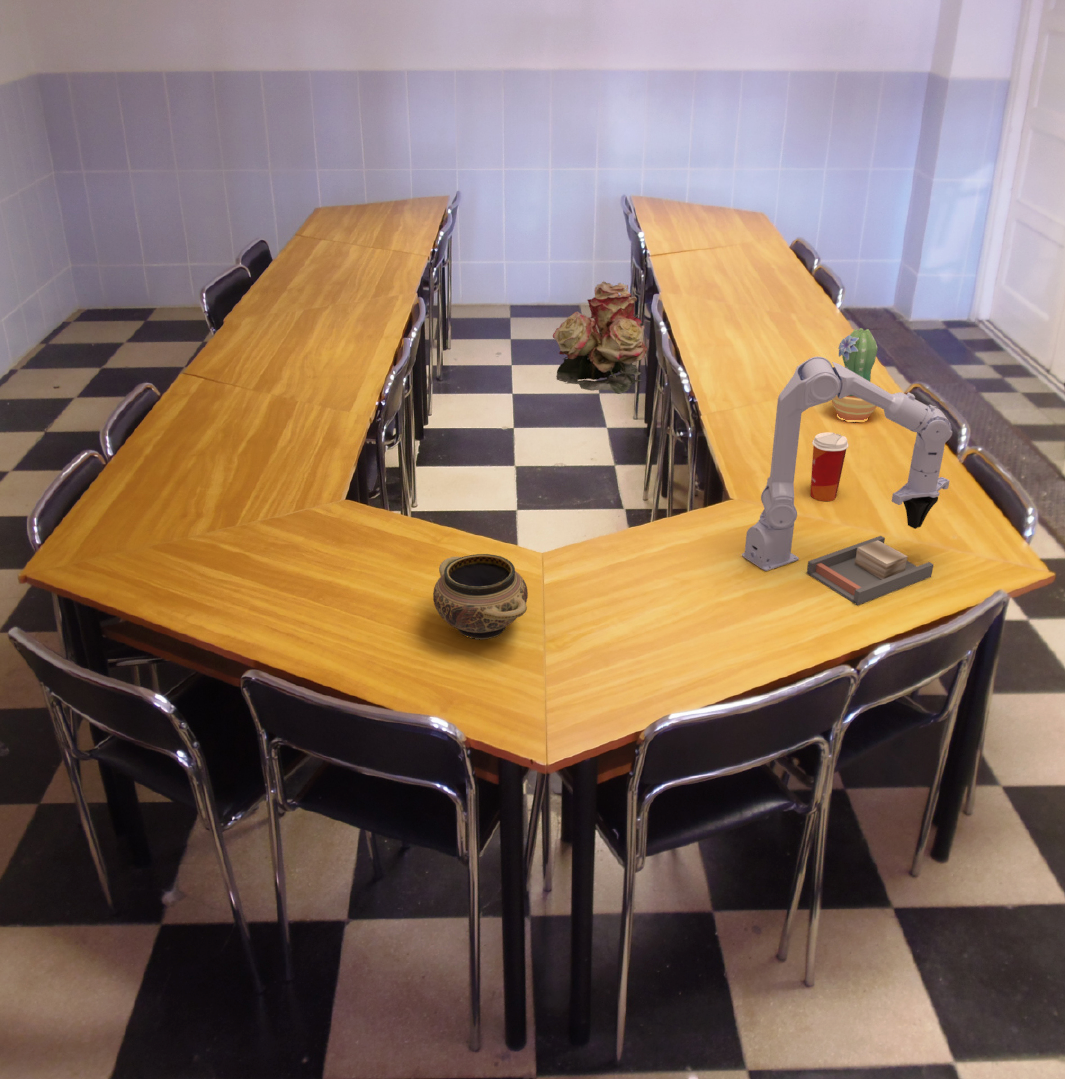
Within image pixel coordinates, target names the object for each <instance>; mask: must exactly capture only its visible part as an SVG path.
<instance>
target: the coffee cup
mask: <svg viewBox="0 0 1065 1079" xmlns="http://www.w3.org/2000/svg"><path fill="white" fill-rule="evenodd" d="M811 442H812V446H813V447H812V448H813V449H812V459H811V460H812V462H811V476H810V477H811V478H810V479H811V480H810V496H811V498H812V499H813V500H815V501H819V502H831V501H834V500H836V498H837V496H838V490H839V486H840V481H841V476H842V473H843V466H844V464H845V463H844V462H845V458H846V452H847V449H848V448H849V443H848V439H847V437H846V436H845V435H841V434H838V433H835V432H826V431H825V432H820V433H818V434H816V435H815V436H814V439H813V440H812V441H811Z"/></svg>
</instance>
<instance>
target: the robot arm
mask: <svg viewBox="0 0 1065 1079" xmlns="http://www.w3.org/2000/svg"><path fill="white" fill-rule="evenodd" d="M832 364H833V365H832ZM876 385H877V384H875V383H873V382H871V381H870V382H869V381H868V380H866V379H864V378H863V377H861V376H859V375H857V374H856V373H854V372H852V371H851V370H849V369H847V368H845V366H843V365H842V364H840V363H837V362H834V361H832V362H830V361H829V360H828V359H827V357H826V358H825V357H823V356H813V357H810V358H808V359H807V360H806V361H804V362H802V363H800V364H799V365H798V366H796V368H795V371H794V373H793V375H792V377H791V378H790V379H789V380H788V382H787V384H786V385H785V387H784V388H783V389H782V391H780V392H779V395H778V398H777V403H776V404H777V405H776V414H775V424H774V434H773V436H774V437H773V443H772V453H771V463H770V474H769V477H768V478H767V479H766V480H767V481H766V485H765V487H764V488H763V490H762V492H761V495H760V500H761V503H762V506H763V510H762V512H760V513H761V514H760V515H759V520H758V521H757V522H756V523H755V524H753V525H752V526H751V527H749V528H747V531H746V535H745V536H746V537H745V546H744V552H743V553H741V557H743V558H745V559H746V560H747V561H749V562H750V563H752V564H754V566H757V567H758V568H760V569H761V570H763V571H765V572H767V571H771V570H773V569H776V568H779V567H782V566H785V565H788V564H791V563H793V562H796V561H799V559H800V558H799V557H798V556H797V555H796V554H794V553H792V543H793V537H794V528H795V522H796V520H797V517H798V512H797V511H798V510H797V509H796V506H795V490H794V489H795V487H794V485H795V483H794V482H795V473H796V465H797V456H798V448H799V439H800V431H801V430H800V429H801V421H802V420H801V419H802V413H803V412H805V411H807V410H808V409H810V408H812V407H815V406H819V405H821V404H824V403H828V402H830V401H832V399H833V398H835V397H836V396H838V398H839V399H841V398H844V397H846V396H848V395H854V396H856V397H858V398H860V399H862V400H864V401H867V402H869V403H871V404H873V405H875V406H877V407H878V408H880V409H882V410H883V412H884V417H885V418H886V419H887V420H889V421H891V422H894V423H895V424H897V425H899V426H900V427H903V428H905V429H907V430H908V431H911V432H913V433H916V435H915V436H916V437H915V442H914V445H913V450H912V456H911V462H910V466H909V467H910V468H909V473H908V478H907V482H906V483H905V484H904V485H903V486H902V487H901V488H900V489H898V490H897V491H894V492H892V496H891V502H892V503H893V504H896V505H898V506H900V505H902V504H903V505H904V508H905V513H906V521H907V522H906V523H907V526H908V527H910V528H912V529H915V530H916V529H919V528H922V525H923V524H924V521H925V520H926V518H927V516H928V514H929V512H930V511H931V509H932V508H933V507H934V506H935V505H936V503H938V501H939V496H940V492H939V491H940V490H947V489H949V486H950V479H947V478H946V477H943V476H940V471H941V467H942V462H943V458H944V457H943V456H944V454H945V453H944V452H945V445H946V443H947V442H948V441H949V440H950V439H951V437H952V435H953V432H954V431H952V425H951V424H952V423H951V422H950V420H949V419H948V418H947V417H946V415H945V414H944V412H943V411H942V410H941V409H939V408H938V406H935V405H932V404H925V403H923V402H921V401H919V400H917V399H916V396H915V395H914V394H913V393H911V392H907V394H906V393H904V392H900V391H899V392H896V393H890V392H889V391H887V390H885V389H883V388H882V387H881V386H880V387H881V388H880V387H878V386H879V385H877V386H876ZM877 407H876V408H877Z"/></svg>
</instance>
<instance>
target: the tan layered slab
mask: <svg viewBox="0 0 1065 1079" xmlns="http://www.w3.org/2000/svg"><path fill="white" fill-rule="evenodd" d="M856 553H857V554H856V559H855V564H856V565H858V566H859V567H861V568H863V569H864V570H866V571H868V572H869V573H871V574H873V575H875V576H876V577H878V578H880V579H881V580H883V579H885V578H888V577H890V576H893V575H896V574H898V573H901V572H904V571H905V569H906V568H905V567H906V562H907V561H908V555H905V554H904V553H902V552H901V551H899V550H897V549H895V548H893V547H891V546H890V545H887V543H886V544H885V542H884V543H882V542H881V541H879V540H877V541H875V542H872V543H869V544H866V545H863V546H860V547H858V548H857V552H856Z"/></svg>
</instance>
